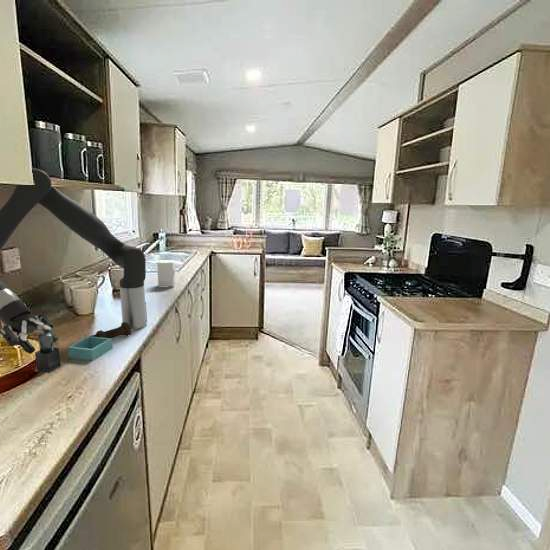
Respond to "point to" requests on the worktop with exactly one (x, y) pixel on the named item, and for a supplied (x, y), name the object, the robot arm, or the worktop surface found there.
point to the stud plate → (51, 369)
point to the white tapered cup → (166, 273)
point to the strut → (47, 353)
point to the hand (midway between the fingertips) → (44, 346)
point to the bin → (82, 351)
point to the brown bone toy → (115, 331)
